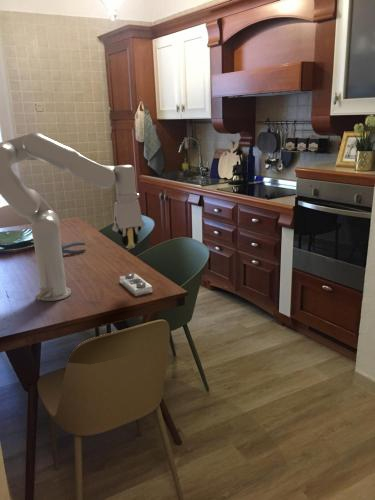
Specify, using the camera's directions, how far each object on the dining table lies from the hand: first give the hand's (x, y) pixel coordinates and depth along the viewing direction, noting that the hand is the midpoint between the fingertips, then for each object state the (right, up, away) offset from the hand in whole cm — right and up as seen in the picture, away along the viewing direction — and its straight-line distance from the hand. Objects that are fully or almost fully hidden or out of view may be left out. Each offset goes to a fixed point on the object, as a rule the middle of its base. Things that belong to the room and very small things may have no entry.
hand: (130, 244), depth 171 cm
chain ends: (+2, -17, +3) cm, 18 cm away
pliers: (-39, -5, +49) cm, 63 cm away
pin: (0, -1, 0) cm, 1 cm away
